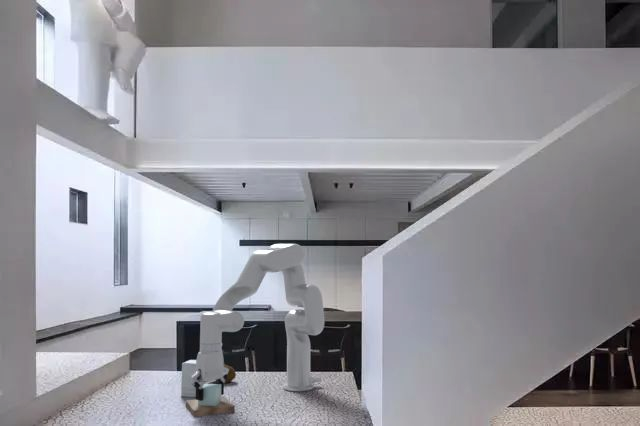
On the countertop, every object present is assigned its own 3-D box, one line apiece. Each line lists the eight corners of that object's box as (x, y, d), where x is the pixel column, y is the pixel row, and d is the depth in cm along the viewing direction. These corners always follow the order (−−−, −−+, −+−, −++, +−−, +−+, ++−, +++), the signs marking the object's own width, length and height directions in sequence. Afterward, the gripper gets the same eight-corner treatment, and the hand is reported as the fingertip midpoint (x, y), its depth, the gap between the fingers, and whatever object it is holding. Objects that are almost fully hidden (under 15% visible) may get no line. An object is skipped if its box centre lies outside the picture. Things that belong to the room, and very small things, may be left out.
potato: (234, 384, 230) (234, 365, 230) (204, 384, 229) (205, 365, 230) (237, 379, 238) (237, 361, 238) (208, 380, 238) (208, 361, 238)
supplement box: (198, 397, 209) (199, 363, 209) (180, 396, 210) (181, 362, 211) (206, 392, 216) (207, 360, 217) (188, 391, 217) (189, 359, 218)
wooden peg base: (224, 401, 203) (224, 383, 203) (234, 411, 190) (234, 392, 190) (185, 406, 197) (186, 387, 197) (193, 416, 184) (194, 396, 185)
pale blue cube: (203, 400, 197) (204, 383, 198) (221, 400, 196) (221, 384, 197) (197, 405, 191) (198, 388, 191) (215, 405, 190) (216, 388, 190)
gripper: (220, 343, 204) (220, 390, 203) (184, 350, 190) (183, 400, 189) (235, 345, 200) (234, 393, 198) (199, 352, 186) (198, 404, 184)
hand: (209, 397), depth 194 cm, fingers open, 9 cm apart
